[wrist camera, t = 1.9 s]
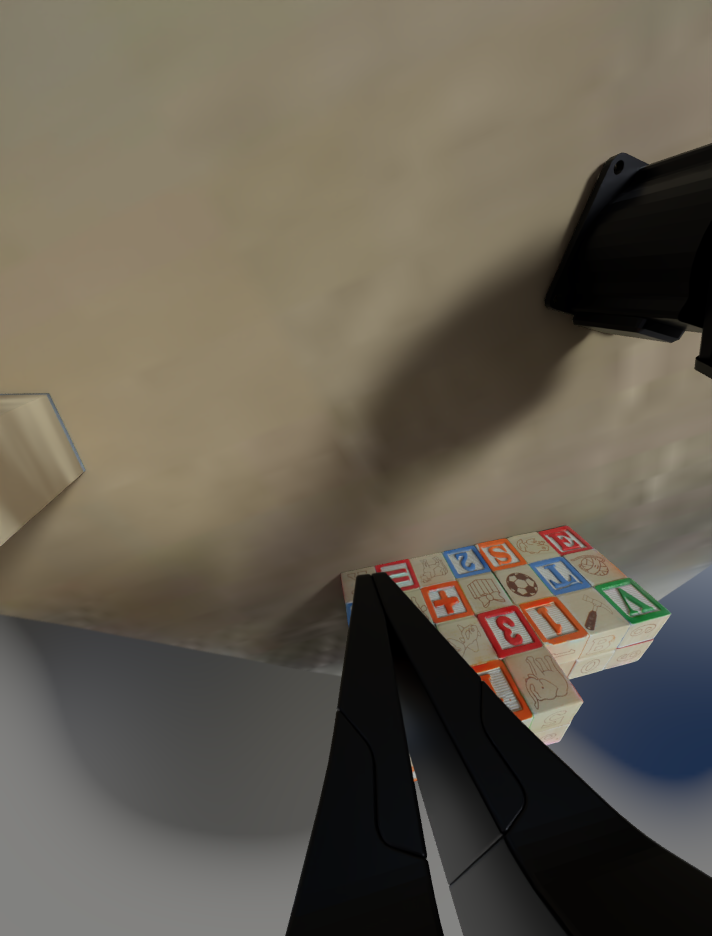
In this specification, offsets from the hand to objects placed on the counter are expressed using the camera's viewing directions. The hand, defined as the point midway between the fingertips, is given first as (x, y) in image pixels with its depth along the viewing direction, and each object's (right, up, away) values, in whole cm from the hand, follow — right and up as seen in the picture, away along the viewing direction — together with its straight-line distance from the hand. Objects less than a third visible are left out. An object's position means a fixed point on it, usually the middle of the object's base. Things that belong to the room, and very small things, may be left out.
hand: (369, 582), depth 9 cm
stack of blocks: (+9, -6, +20) cm, 23 cm away
